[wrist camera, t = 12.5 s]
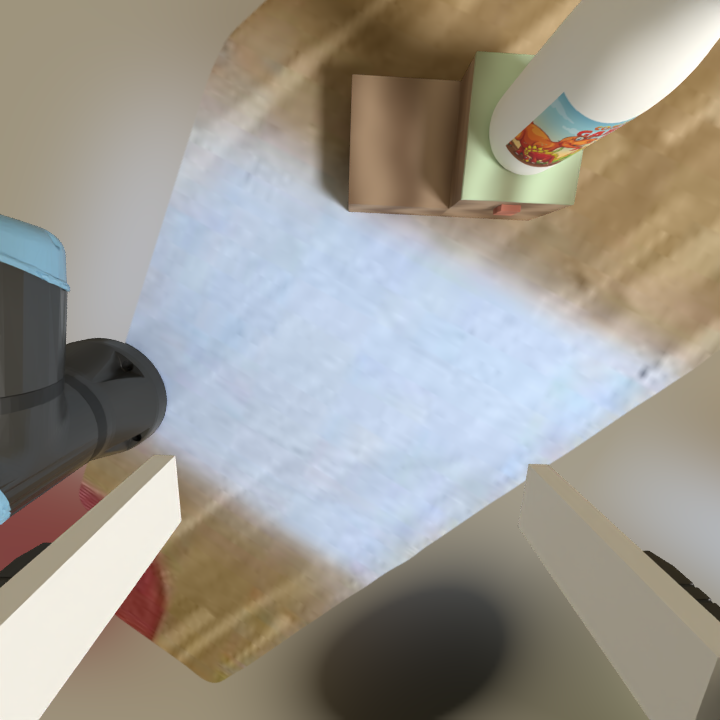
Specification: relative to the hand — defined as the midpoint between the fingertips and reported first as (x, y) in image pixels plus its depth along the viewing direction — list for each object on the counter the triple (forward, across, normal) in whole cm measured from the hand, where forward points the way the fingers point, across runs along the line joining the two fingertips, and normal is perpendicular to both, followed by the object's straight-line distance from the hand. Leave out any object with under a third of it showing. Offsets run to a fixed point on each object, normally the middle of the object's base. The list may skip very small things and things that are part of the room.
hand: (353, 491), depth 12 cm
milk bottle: (+24, +16, +22) cm, 36 cm away
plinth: (+32, +10, +22) cm, 40 cm away
